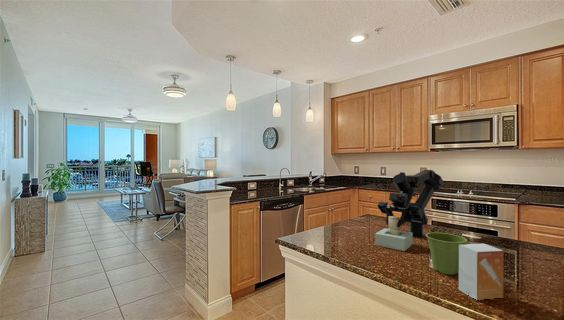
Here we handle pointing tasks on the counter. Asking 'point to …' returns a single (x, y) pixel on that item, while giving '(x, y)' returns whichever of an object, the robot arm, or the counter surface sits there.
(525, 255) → the counter surface
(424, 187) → the robot arm
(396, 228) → the beech peg
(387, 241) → the socket block
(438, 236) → the plant pot
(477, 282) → the small box
